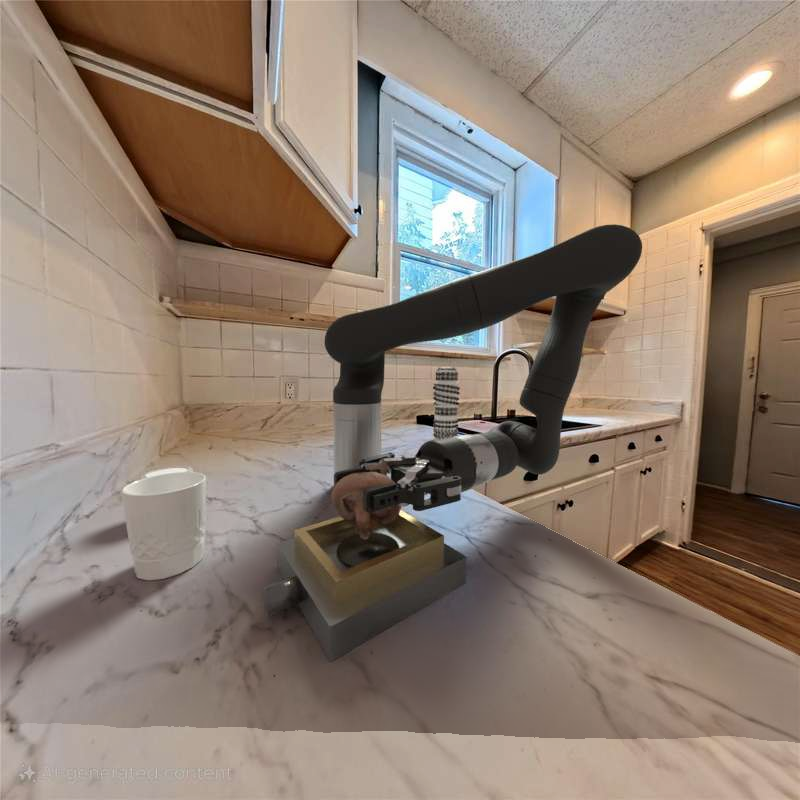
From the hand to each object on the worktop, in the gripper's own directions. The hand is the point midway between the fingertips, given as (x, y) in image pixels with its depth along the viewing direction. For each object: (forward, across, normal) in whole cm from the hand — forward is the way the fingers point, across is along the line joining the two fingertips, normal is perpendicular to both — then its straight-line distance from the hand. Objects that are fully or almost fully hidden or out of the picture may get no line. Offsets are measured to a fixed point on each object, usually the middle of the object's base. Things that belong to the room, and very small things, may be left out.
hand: (349, 491), depth 33 cm
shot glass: (+16, -32, +10) cm, 37 cm away
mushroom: (-2, 0, +6) cm, 7 cm away
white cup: (+16, -16, +10) cm, 25 cm away
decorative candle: (-61, -47, +11) cm, 78 cm away
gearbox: (-1, -1, +10) cm, 10 cm away
